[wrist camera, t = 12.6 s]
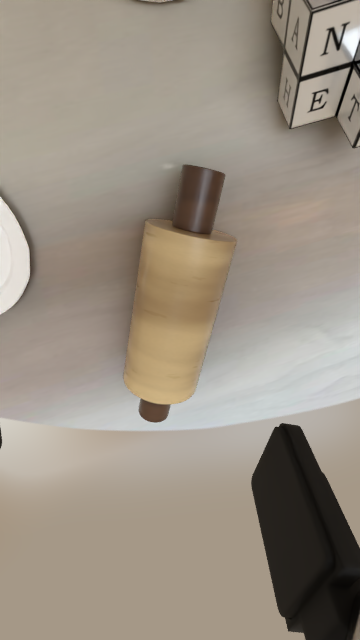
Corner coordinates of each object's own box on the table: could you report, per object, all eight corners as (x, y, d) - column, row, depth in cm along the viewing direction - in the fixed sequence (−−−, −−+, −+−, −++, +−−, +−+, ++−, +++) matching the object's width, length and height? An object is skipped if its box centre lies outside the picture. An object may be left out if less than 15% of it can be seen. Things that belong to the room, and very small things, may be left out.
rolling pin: (163, 163, 20) (144, 151, 14) (248, 182, 20) (261, 177, 14) (129, 382, 28) (108, 428, 22) (189, 397, 28) (183, 447, 22)
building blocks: (266, 74, 19) (303, 161, 16) (277, -48, 14) (334, 47, 11) (349, 48, 18) (403, 135, 16) (391, -88, 14) (482, 1, 11)
